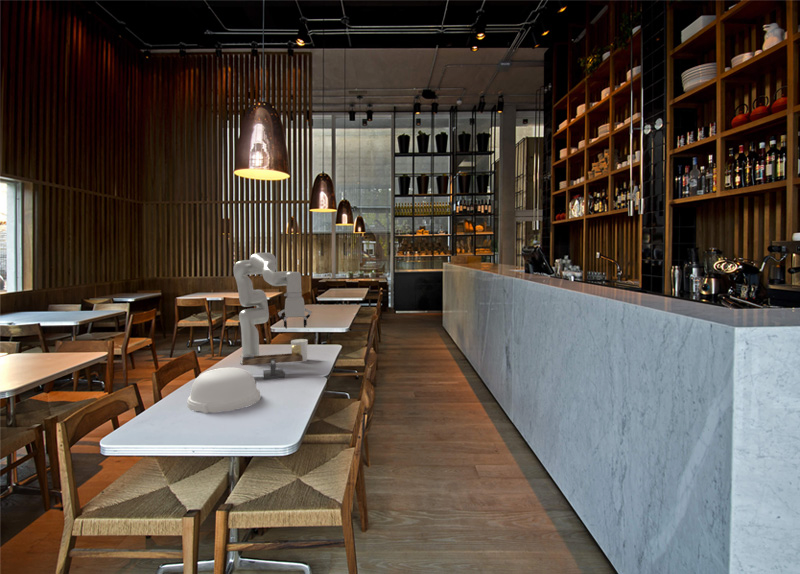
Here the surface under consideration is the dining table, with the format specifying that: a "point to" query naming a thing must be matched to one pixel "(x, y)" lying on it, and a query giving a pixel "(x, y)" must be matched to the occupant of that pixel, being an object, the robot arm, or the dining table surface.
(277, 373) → the beam stand
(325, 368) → the dining table surface
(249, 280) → the robot arm
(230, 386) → the dome cover
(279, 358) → the balance beam
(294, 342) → the candle holder
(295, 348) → the brass weight
